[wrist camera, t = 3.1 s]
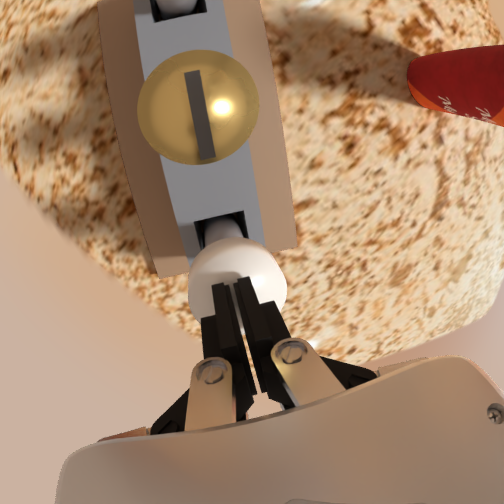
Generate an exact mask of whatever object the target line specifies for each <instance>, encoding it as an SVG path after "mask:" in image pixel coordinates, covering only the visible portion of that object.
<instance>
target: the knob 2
mask: <svg viewBox="0 0 504 504" xmlns="http://www.w3.org/2000/svg"><path fill="white" fill-rule="evenodd" d="M204 237H205V248H204V249H203V250H202V251H201V252H200V253H199V254H198V255H197V256H196V257H195V259H194V260H193V262H192V264H191V267H190V270H189V275H188V301H189V307H190V310H191V312H192V314H193V316H194V317H195V319H196V320H197V321H198V322H199V323H200V324H201V318H203V317H207V316H212V315H215V309H214V302H213V294H212V287H211V285H214V284H218V283H222V282H224V285H228V284H229V286H230V290H231V294H232V298H233V302H234V306H235V310H236V314H237V318H238V322H239V326H240V330H241V334H242V335H243V334H245V331H244V327H243V323H242V319H241V315H240V311H239V307H238V302H237V298H236V294H235V290H234V286H233V283H237V279H239V278H243V277H247V276H249V277H250V279H251V282H252V285H253V287H254V290H255V293H256V295H257V298H258V301H259V303H260V304H261V303H265V302H269V301H273V300H274V301H275V303H276V305H277V307H278V309H279V312H280V311H281V309H282V307H283V305H284V303H285V300H286V296H287V284H286V280H285V277H284V275H283V273H282V271H281V270H280V268H279V266H278V264H277V262H276V261H275V259H274V257H273V255H272V254H271V253H270V251H269V250H268V249H267V248H266V247H265V246H263V245H262V244H260V243H258V242H256V241H254V240H251V239H248V238H243V235H242V233H241V231H240V228H239V226H238V223H237V221H236V218H235V217H234V215H233V214H232V213H229V214H224V215H220V216H216V217H211V218H207V219H205V221H204Z"/></svg>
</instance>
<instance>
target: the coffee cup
mask: <svg viewBox="0 0 504 504" xmlns="http://www.w3.org/2000/svg"><path fill="white" fill-rule="evenodd" d="M407 82H408V86H409V89H410V92H411V94H412V96H413V97H414V99H415V100H416V101H417V102H418V103H419V104H420V105H421V106H423V107H425V108H428V109H432V110H437V111H442V112H447V113H451V114H456V115H460V116H465V117H469V118H473V119H477V120H481V121H485V122H488V123H492V124H495V125H499V126H502V127H504V45H494V46H483V47H474V48H466V49H459V50H452V51H446V52H441V53H435V54H430V55H426V56H422V57H418V58H416V59H414V60H413V61H412V62H411V63H410V64H409V67H408V70H407Z"/></svg>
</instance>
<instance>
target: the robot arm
mask: <svg viewBox="0 0 504 504" xmlns="http://www.w3.org/2000/svg"><path fill="white" fill-rule="evenodd" d="M233 286H234V290H235V294H236V298H237V302H238V307H239V311H240V315H241V319H242V323H243V327H244V331H245V335H246V339H247V342H248V346H249V350H250V353H251V357H252V360H253V364H254V368H255V371H256V375H257V378H258V382H259V385H260V389H261V392H262V393H264V392H267V394H268V397H269V399H272V400H274V401H276V402H279V403H280V405H281V408H282V410H283V411H280V412H277V413H273V414H269V415H265V416H261V417H257V418H253V419H248V413H247V410H248V409H249V408H250V407H251V405H252V404H253V403H254V400H253V396H252V395H256V394H257V391H256V387H255V383H254V380H253V376H252V372H251V368H250V365H249V361H248V357H247V353H246V349H245V345H244V341H243V338H242V334H241V330H240V326H239V322H238V318H237V314H236V310H235V306H234V302H233V298H232V294H231V290H230V286H229V284H228V285H224V282H222V283H218V284H214V285H211V287H212V294H213V302H214V309H215V315H212V316H207V317H203V318H201V332H202V344H203V354H204V360H202V361H200V362H199V363H198V364H197V365H196V366H195V367H194V368H193V371H192V375H191V382H190V388H189V389H188V390H187V391H186V392H185V393H184V394H183V395H182V396H181V397H180V398H179V399H178V400H177V401H176V402H175V403H174V404H173V405H172V406H171V407H170V408H169V409H168V410H167V411H166V412H165V413H164V414H163V415H161V416H160V417H159V419H157V421H155V423H154V424H153V426H152V427H151V428H148V429H147V428H146V427H141V428H138V429H135V430H131V431H128V432H124V433H120V434H117V435H113V436H109V437H105V438H103V439H100V440H99V441H98V442H97V443H94V444H90V445H88V446H85V447H83V448H80V449H79V450H77V451H75V452H73V453H72V454H71V455H70V456H69V457H68V458H67V459H66V460H65V462H64V464H63V466H62V469H61V472H60V476H59V480H58V485H57V491H56V499H55V504H504V392H503V391H502V389H501V388H500V387H499V386H498V385H497V384H496V383H495V382H494V380H493V379H492V378H491V377H490V376H489V375H488V374H487V373H486V372H485V371H484V370H483V369H482V368H480V367H479V366H478V365H477V364H476V363H474V362H473V361H471V360H469V359H468V358H466V357H462V356H459V355H445V356H438V357H433V358H426V357H425V358H418V359H414V360H410V361H406V362H402V363H398V364H393V365H389V366H384V367H379V368H378V370H377V371H371V370H369V369H366V368H363V367H359V366H355V365H351V364H347V363H343V362H340V361H336V360H332V359H329V358H325V357H321V356H319V355H318V354H317V353H316V352H315V350H314V349H313V348H312V346H311V345H310V344H309V343H308V342H307V341H305V340H303V339H300V338H291V336H290V333H289V331H288V329H287V327H286V325H285V323H284V320H283V318H282V316H281V314H280V312H279V309H278V307H277V305H276V303H275V301H274V300H273V301H269V302H265V303H261V304H260V303H259V301H258V298H257V295H256V293H255V290H254V287H253V285H252V282H251V279H250V277H249V276H247V277H243V278H239V279H237V283H233Z"/></svg>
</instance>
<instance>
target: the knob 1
mask: <svg viewBox="0 0 504 504" xmlns="http://www.w3.org/2000/svg"><path fill="white" fill-rule="evenodd" d="M156 1H157V4H158V7H159V10H160V14H161V17H162V19H163V20H164V21H165V20H169V19H174V18H178V17H183V16H188V15H194V14H196V11H197V0H156Z"/></svg>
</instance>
